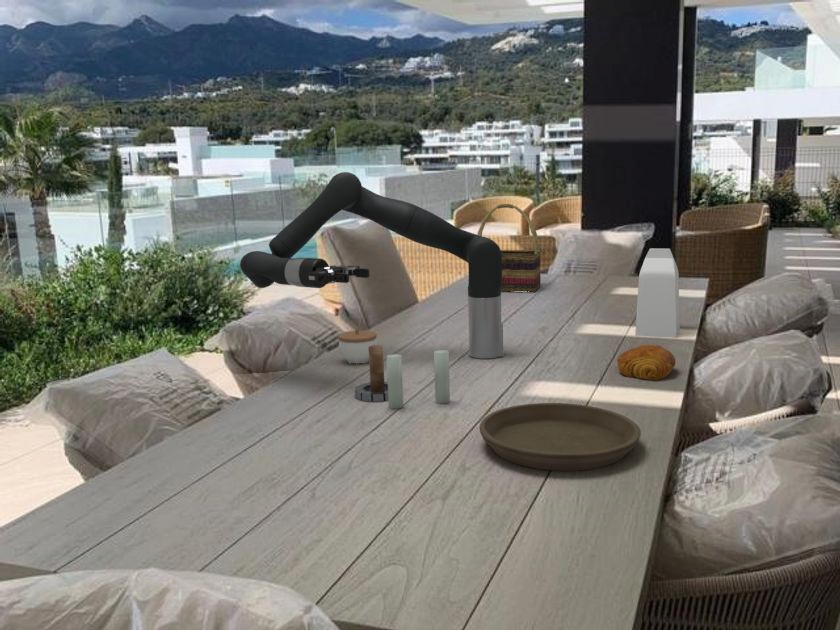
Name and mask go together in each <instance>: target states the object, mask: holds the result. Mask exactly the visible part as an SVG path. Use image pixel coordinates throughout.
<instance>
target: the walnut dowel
mask: <svg viewBox="0 0 840 630" xmlns="http://www.w3.org/2000/svg"><path fill="white" fill-rule="evenodd" d="M368 363H369V366H368V367H369V382H370V387H371V392H383V391H385V385H384V381H385V369H384V367H385V366H384V365H385V364H384V347H383V345H380V344H376V345H373V346H369V362H368Z"/></svg>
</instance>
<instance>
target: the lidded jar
mask: <svg viewBox="0 0 840 630" xmlns="http://www.w3.org/2000/svg"><path fill="white" fill-rule="evenodd" d="M337 338H338V347H339V351H340V354H341V355H342V358H343V359H344V360H346V361H347V363H348V362H349V364H351V363H356V364H355V365H360V364H359V363H363V364H367V363H369V346H373V345H377V333H376V332H375V331H372V330H371V331H370V330H360V328H355V330H350V331H345V332H342V333H339V334H338V336H337ZM366 362H367V363H366ZM357 363H358V364H357Z"/></svg>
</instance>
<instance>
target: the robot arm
mask: <svg viewBox="0 0 840 630" xmlns="http://www.w3.org/2000/svg"><path fill="white" fill-rule="evenodd" d="M341 211H344V212H347V213H351V214H353V215H356V216H360V217H362V218H365V219H368V220H371V221H372V222H374V223H376V224H377V225H379V226H381V227H383V228H385V229H386V230H389V231H391V232H392V233H393V232H394V233H396V234H397V235H399V236H401V237H403V238H404V239H405V238H406V239H408V240H411V241H412V242H415V243H417V244H420V245H422V246H427V247H429V248H433V249H438V250H441V251H445V252H447V253H450V254H452V255H453V256H455V257H458V258H459V259H461V260H463V261H464V262H465V263H468V264H467V265H468V285H467V302H468V303H467V306H468V307H467V309H468V350H469V351H468V352H469V353H468V354H469V355H468V356H469V357H472V358H474V359H475V358H476V359H482V360H483V359H495V358H499V357H500V358H501V357H504V324H503V322H502V292H501V286H502V253H501V250H502V249H501V248H500V246H499V245H498V243H496V242H495V241H494V240H493V239H491V238H489V237H486V236H483V235H482V236H480V235H477V234H475V233H472V232H471V231H470V232H469V231H466V230H465V229H461V228H459V227H458V226H455V225H453V224H452V223H450V222H448V221H447V220H445V219H443V218H442V217H441V216H438V215H437V214H434V213H433V212H431V211H430V210H427V209H425V208H422V207H421V206H418V205H416V204H414V203H411V202H407V201H403V200H400V199H395V198H390V197H386V196H383V195H380V194H377V193H375V192H374V191H371V190H369V189H368V188H366V187H364V186H362V182H361V180H360V179H359V177H358V176H357V175H356V174H354V173H352V172H348V171H342V172H339V173H336V174H335V175H333V176H332V177H331V179H330V180H329V182H328V184H327V185H326V186H325V188H324V189H323V190H322V191H321V193H320V194H319V195H318V197H316V199H315V200H314V201H313V202H312V203H311V204H310V205H309V206H307V208H306V209H304V211H302V212H301V213H300V214H299V215H298V216H296V217H295V218H294V219H293V220H292V221H291V222H289V223H288V224H287V225H286V226H285V227H283V228H282V229H281V230H280V232H278V233H277V234H276V235H275V236H274V237H273V238H272V239H271V240H270V241H269V243H268V246H269V249H270V252H271V253H269V252H265V251H260V250H253V251H250V252H246V254H244V255H243V256H242V257H241V259H240V261H239V267H240V269H241V271H242V273H243V274H244V275H245V276H246V277H247V279H248V280H250V282H251V283H252V284H253V285H254V286H255V287H257V288H260V289H265V288H268V287H270V286H272V285H273V284H274V283H276V284H279V285H281V286H284V285H285V286H294V287H299V288H310V289H311V288H312V289H322V288H324V287H325V286H326V285H328V284H336V283H338V284H339V283H342V284H343V283H344V284H348V283H349V282H350V278H355V279H356V278H362V279H363V278H364V279H366V278H368V279H369V278H370V269H369V268H361V266H360V265H343V264H340V265H336V264H334V265H333V264H332V265H329V264H328V262H327V261H326V260H325V259H323V258H319V257H318V258H317V257H295V258H293V257H294V256H295V255H296V254H297V253H298V252H299V251H300V250H301V249H302V248H304V247H305V246H306V245H307V244H308V243H309V242H310V240H311V239H312V238H313V237H314V236H315V235H316V234H317V232H318V231H319V230H320V229H321V228H322V227H323V226H324V225H325V224H326V223H327V222H328V221H329V220H331V218H333V217H334V216H336V214H338V213H340V212H341Z"/></svg>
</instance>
